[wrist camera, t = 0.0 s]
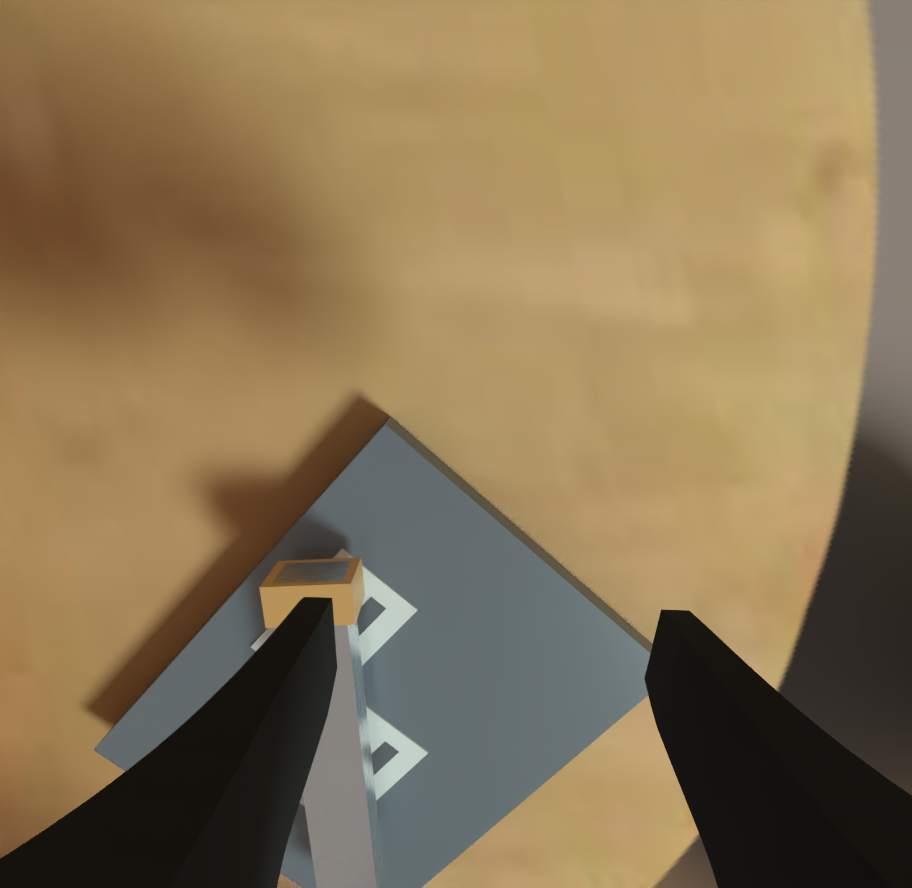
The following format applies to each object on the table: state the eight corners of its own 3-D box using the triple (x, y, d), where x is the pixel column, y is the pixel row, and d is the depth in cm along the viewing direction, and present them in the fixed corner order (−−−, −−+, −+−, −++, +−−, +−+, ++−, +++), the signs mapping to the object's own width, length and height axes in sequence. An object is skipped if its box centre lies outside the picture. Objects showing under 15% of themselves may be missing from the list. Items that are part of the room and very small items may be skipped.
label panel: (374, 898, 27) (358, 1009, 23) (115, 724, 25) (41, 812, 20) (660, 651, 24) (705, 727, 19) (390, 416, 21) (372, 444, 17)
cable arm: (391, 860, 24) (385, 909, 22) (321, 862, 24) (309, 911, 22) (361, 557, 20) (350, 583, 18) (278, 560, 20) (259, 587, 18)
